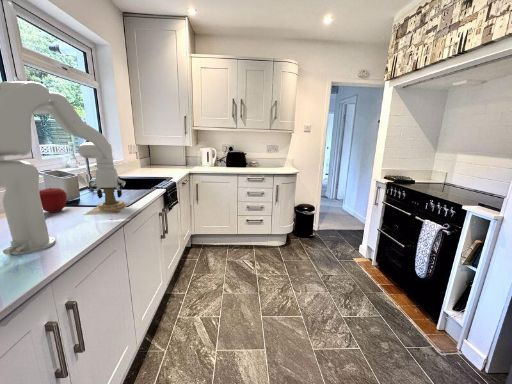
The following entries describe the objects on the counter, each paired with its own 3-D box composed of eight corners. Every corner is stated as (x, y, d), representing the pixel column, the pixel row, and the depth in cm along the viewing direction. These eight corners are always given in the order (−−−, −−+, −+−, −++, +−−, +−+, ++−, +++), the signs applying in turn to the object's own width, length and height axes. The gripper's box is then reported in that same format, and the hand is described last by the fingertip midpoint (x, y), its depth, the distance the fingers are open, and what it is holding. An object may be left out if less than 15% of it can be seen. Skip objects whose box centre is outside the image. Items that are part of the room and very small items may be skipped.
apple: (43, 217, 117) (37, 191, 114) (37, 212, 124) (31, 187, 121) (72, 210, 126) (67, 186, 123) (65, 206, 133) (60, 183, 130)
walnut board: (118, 215, 120) (117, 213, 120) (83, 216, 118) (83, 215, 117) (131, 203, 139) (131, 202, 139) (102, 205, 137) (101, 203, 136)
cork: (111, 208, 127) (108, 188, 125) (102, 207, 128) (99, 188, 126) (120, 205, 133) (117, 186, 130) (111, 204, 134) (108, 185, 132)
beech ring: (119, 209, 126) (118, 205, 126) (94, 210, 124) (93, 206, 124) (127, 202, 138) (126, 199, 137) (104, 203, 136) (104, 200, 135)
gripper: (83, 167, 121) (89, 199, 125) (120, 167, 123) (124, 198, 127) (91, 165, 128) (96, 196, 132) (125, 165, 130) (129, 195, 135)
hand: (110, 197), depth 130 cm, fingers open, 9 cm apart
